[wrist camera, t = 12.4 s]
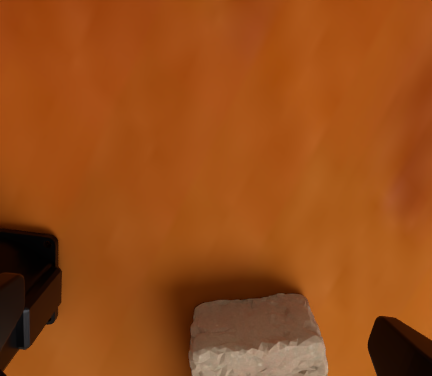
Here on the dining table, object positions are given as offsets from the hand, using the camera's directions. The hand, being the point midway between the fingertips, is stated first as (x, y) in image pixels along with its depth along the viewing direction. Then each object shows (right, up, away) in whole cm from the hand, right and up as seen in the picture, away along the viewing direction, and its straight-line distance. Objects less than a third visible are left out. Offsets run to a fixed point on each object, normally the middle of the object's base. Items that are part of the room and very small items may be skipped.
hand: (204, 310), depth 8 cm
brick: (+4, -12, +17) cm, 21 cm away
